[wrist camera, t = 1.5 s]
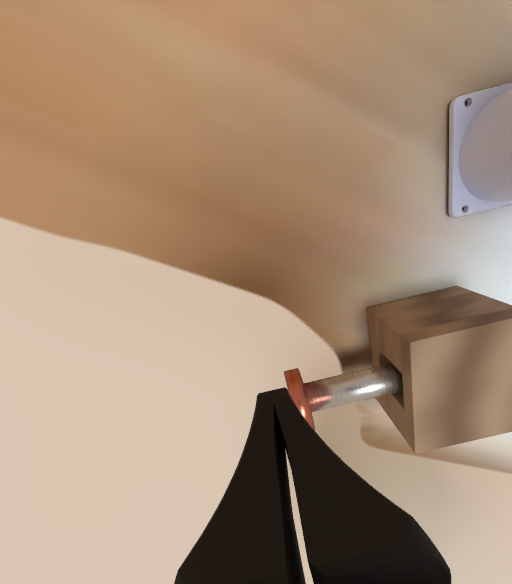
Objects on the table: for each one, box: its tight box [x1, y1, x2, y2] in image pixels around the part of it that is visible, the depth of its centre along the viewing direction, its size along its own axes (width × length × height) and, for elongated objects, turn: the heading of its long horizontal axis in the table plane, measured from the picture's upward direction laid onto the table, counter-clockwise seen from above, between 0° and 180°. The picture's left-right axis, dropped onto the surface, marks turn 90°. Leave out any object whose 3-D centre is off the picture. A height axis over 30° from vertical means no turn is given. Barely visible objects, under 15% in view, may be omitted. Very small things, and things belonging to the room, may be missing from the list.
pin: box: [284, 363, 403, 431], centre depth 21 cm, size 12×5×5 cm, turn 104°
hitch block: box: [366, 286, 512, 454], centre depth 21 cm, size 8×10×6 cm
